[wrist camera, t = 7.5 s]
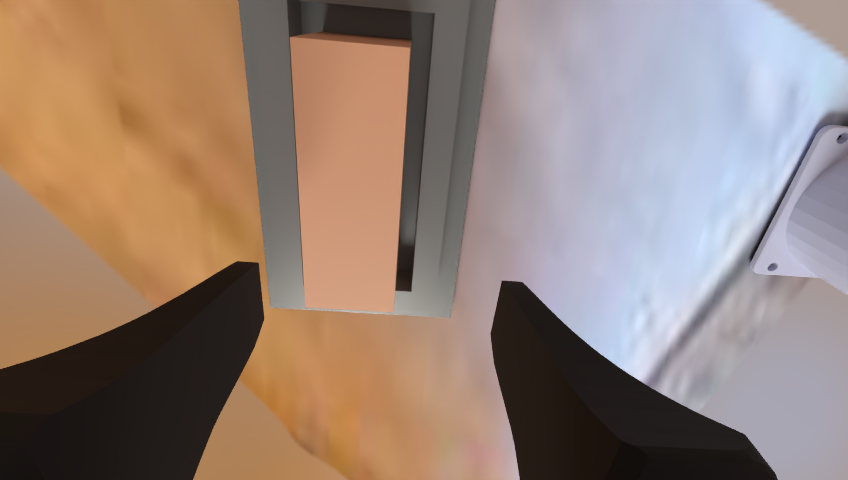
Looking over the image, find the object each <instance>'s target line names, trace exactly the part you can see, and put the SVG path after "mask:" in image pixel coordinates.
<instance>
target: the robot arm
mask: <svg viewBox="0 0 848 480" xmlns="http://www.w3.org/2000/svg"><path fill="white" fill-rule="evenodd" d="M839 135H841V137H840V138H839V139H838V140H837V138H838V136H839ZM770 264H771V266H769V265H770ZM768 266H769V267H768ZM750 268H751V269H752V270H753V271H754V272H755V273H758V274H769V275H784V276H799V277H815V278H822V279H823V280H825V281H826V282H828V283H829V284H831V285H832V286H834V287H836V288H837V289H839V290H840V291H842V292H843V293H845V294H846V295H848V126H840V125H827V126H825V127H823V128H822V129H820V130H819V131H818V133H817V134H816V136H815V138H814V140H813V142H812V144H811V146H810V148H809V150H808V152H807V154H806V156H805V157H804V159H803V161H802V163H801V165H800V167H799V169H798V171H797V173H796V175H795V177H794V179H793V181H792V183H791V185H790V187H789V189H788V191H787V193H786V195H785V197H784V198H783V200H782V202H781V204H780V206H779V208H778V210H777V212H776V214H775V216H774V218H773V220H772V222H771V224H770V226H769V228H768V230H767V232H766V234H765V236H764V237H763V239H762V241H761V243H760V245H759V247H758V249H757V251H756V253H755V255H754V257H753V259H752V261H751V263H750ZM263 321H264V311H263V302H262V292H261V282H260V272H259V263H254V262H240V261H237V262H235V263H233V264H231V265H229V266H228V267H226V268H224V269H223V270H221V271H219V272H218V273H216V274H214V275H213V276H211V277H210V278H208V279H206V280H205V281H203V282H201V283H200V284H198V285H196V286H195V287H193V288H191V289H190V290H188V291H186V292H185V293H183V294H181V295H180V296H178V297H176V298H174V299H172V300H171V301H169V302H167V303H165V304H163V305H161V306H160V307H158V308H156V309H154V310H152V311H151V312H149V313H147V314H145V315H143V316H141V317H139V318H137V319H135V320H133V321H131V322H128V323H126V324H124V325H122V326H119V327H117V328H115V329H113V330H111V331H109V332H106V333H104V334H101V335H99V336H96V337H94V338H91V339H88V340H86V341H84V342H80V343H78V344H76V345H73V346H70V347H67V348H65V349H62V350H59V351H57V352H54V353H51V354H48V355H45V356H42V357H39V358H36V359H33V360H30V361H26V362H23V363H20V364H16V365H13V366H10V367H7V368H3V369H0V480H193V478H194V475H195V473H196V470H197V467H198V465H199V462H200V459H201V457H202V454H203V452H204V449H205V447H206V444H207V442H208V439H209V437H210V434H211V432H212V429H213V427H214V425H215V423H216V421H217V419H218V416H219V415H220V412H221V411H222V409H223V407H224V405H225V403H226V401H227V399H228V397H229V395H230V393H231V392H232V390H233V388H234V386H235V384H236V382H237V380H238V378H239V376H240V375H241V373H242V371H243V369H244V367H245V365H246V363H247V361H248V359H249V357H250V355H251V353H252V351H253V349H254V347H255V344H256V341H257V339H258V336H259V333H260V330H261V327H262V324H263ZM491 342H492V351H493V358H494V365H495V369H496V373H497V377H498V381H499V385H500V388H501V392H502V396H503V400H504V404H505V407H506V411H507V415H508V419H509V423H510V426H511V430H512V435H513V440H514V444H515V450H516V457H517V463H518V470H519V476H520V480H778V479H777V477H776V474H775V472H774V471H773V470H772V469H771V467H770V466H769V465H768V463H767V462H766V461H765V460H764V459H763V457H762V456H761V455H760V453H759V452H758V451H757V449H756V448H755V447H754V445H753V444H752V443H751V442H750V440H749V439H748V438H747V437H746V435H744V434H743V433H740V432H738V431H736V430H734V429H731V428H729V427H727V426H725V425H723V424H721V423H718V422H716V421H714V420H712V419H709V418H707V417H705V416H703V415H701V414H699V413H697V412H694V411H692V410H691V409H689V408H687V407H685V406H683V405H681V404H679V403H677V402H675V401H673V400H671V399H670V398H668V397H666V396H664V395H662V394H661V393H659V392H657V391H655V390H654V389H652V388H650V387H649V386H647V385H645V384H644V383H642V382H641V381H639V380H637V379H636V378H634V377H633V376H631V375H629V374H628V373H626V372H625V371H623V370H622V369H620V368H619V367H617V366H616V365H615V364H613V363H612V362H611V361H609V360H608V359H606V358H605V357H604V356H602V355H601V354H600V353H598V352H597V351H596V350H594V349H593V348H592V347H591V346H589V345H588V344H587V343H586V342H585V341H583V340H582V339H581V338H580V337H579V336H578V335H576V334H575V333H574V332H573V331H572V330H571V329H570V328H568V327H567V326H566V325H565V324H564V323H563V322H562V321H561V320H560V319H559V318H558V317H557V316H556V315H555V314H554V313H553V312H552V311H551V310H550V309H549V308H548V307H547V306H546V305H545V304H544V303H543V302H542V301H541V300H540V299H539V298H538V297H537V296H536V295H535V294H534V293H533V292H532V291H531V290H530V289H529V288H528V287H527V286H526V285H525V284H524V283H522V282H514V281H502V283H501V288H500V292H499V297H498V302H497V306H496V311H495V316H494V321H493V325H492V330H491Z"/></svg>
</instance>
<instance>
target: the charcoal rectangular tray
mask: <svg viewBox="0 0 848 480" xmlns="http://www.w3.org/2000/svg"><path fill="white" fill-rule="evenodd" d="M238 1H239V10H240V20H241V29H242V39H243V49H244V58H245V68H246V78H247V87H248V97H249V106H250V116H251V126H252V135H253V145H254V155H255V164H256V174H257V184H258V193H259V203H260V212H261V222H262V232H263V241H264V251H265V261H266V270H267V280H268V289H269V299H270V308H286V309H304V310H321V311H338V312H356V313H373V314H391V315H408V316H425V317H443V318H451V312H452V305H453V298H454V291H455V284H456V277H457V269H458V262H459V255H460V248H461V241H462V234H463V227H464V220H465V213H466V206H467V199H468V192H469V184H470V177H471V170H472V163H473V156H474V149H475V142H476V135H477V128H478V121H479V114H480V107H481V99H482V92H483V85H484V78H485V71H486V64H487V57H488V50H489V43H490V36H491V29H492V22H493V14H494V7H495V0H238ZM321 31H326V32H337V33H348V34H359V35H370V36H381V37H392V38H403V39H412V44H411V60H410V76H409V91H408V107H407V123H406V138H405V154H404V170H403V185H402V201H401V217H400V232H399V248H398V262H397V275H396V288H395V301H394V313H393V312H376V311H359V310H341V309H324V308H307V307H305V294H304V276H303V259H302V241H301V223H300V206H299V188H298V171H297V153H296V135H295V118H294V100H293V83H292V65H291V47H290V37H292V36H298V35H304V34H309V33H315V32H321Z"/></svg>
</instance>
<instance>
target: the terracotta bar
mask: <svg viewBox="0 0 848 480" xmlns="http://www.w3.org/2000/svg"><path fill="white" fill-rule="evenodd" d="M411 44H412V39H403V38H392V37H381V36H370V35H359V34H348V33H337V32H326V31H321V32H315V33H309V34H304V35H298V36H292V37H290V47H291V65H292V83H293V100H294V118H295V135H296V153H297V171H298V188H299V206H300V223H301V241H302V259H303V276H304V294H305V307H307V308H324V309H341V310H359V311H376V312H393V313H394V301H395V288H396V275H397V262H398V248H399V232H400V217H401V201H402V185H403V170H404V154H405V138H406V123H407V107H408V91H409V76H410V60H411Z"/></svg>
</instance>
